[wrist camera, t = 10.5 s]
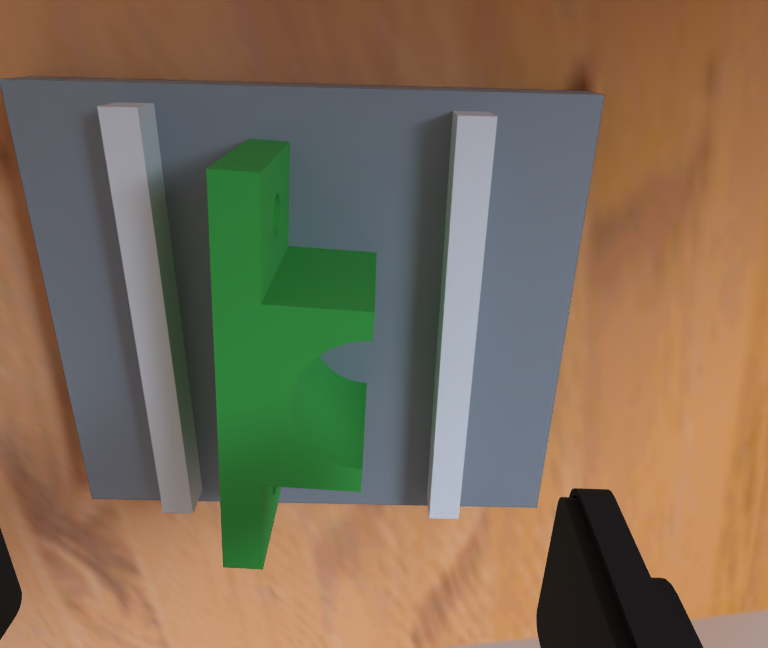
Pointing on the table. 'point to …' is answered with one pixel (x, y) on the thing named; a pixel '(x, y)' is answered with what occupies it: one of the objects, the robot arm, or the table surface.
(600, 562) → the robot arm
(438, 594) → the table surface
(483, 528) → the table surface
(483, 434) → the rail board
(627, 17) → the table surface
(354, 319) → the pipe clamp
